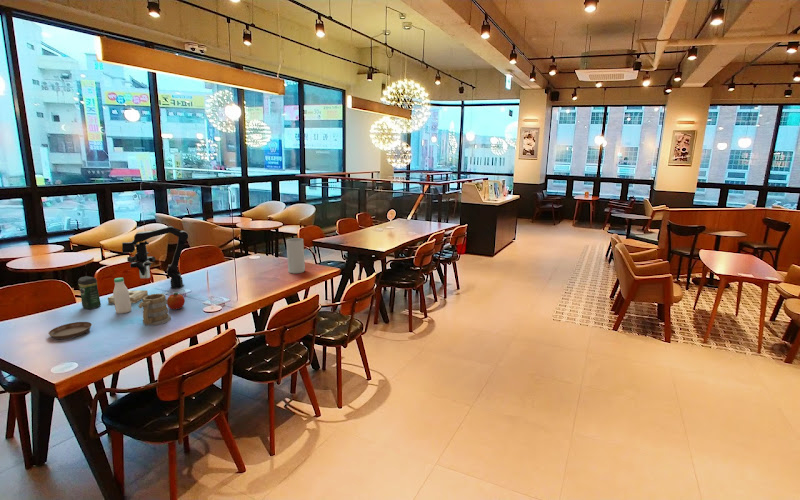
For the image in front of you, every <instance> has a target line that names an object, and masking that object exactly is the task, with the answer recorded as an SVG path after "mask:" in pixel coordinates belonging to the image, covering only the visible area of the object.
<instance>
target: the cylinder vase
mask: <svg viewBox="0 0 800 500" xmlns="http://www.w3.org/2000/svg"><path fill="white" fill-rule="evenodd" d="M285 242H286V256H287V257H286V258H287V270H288V273H289V274H302V273H304V272H305V270H306V266H305V246H304V245H305V244H304V238H302V237H301V238H300V237H299V238H298V237H295V238H294V237H292V238H288V239H286V241H285Z"/></svg>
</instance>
